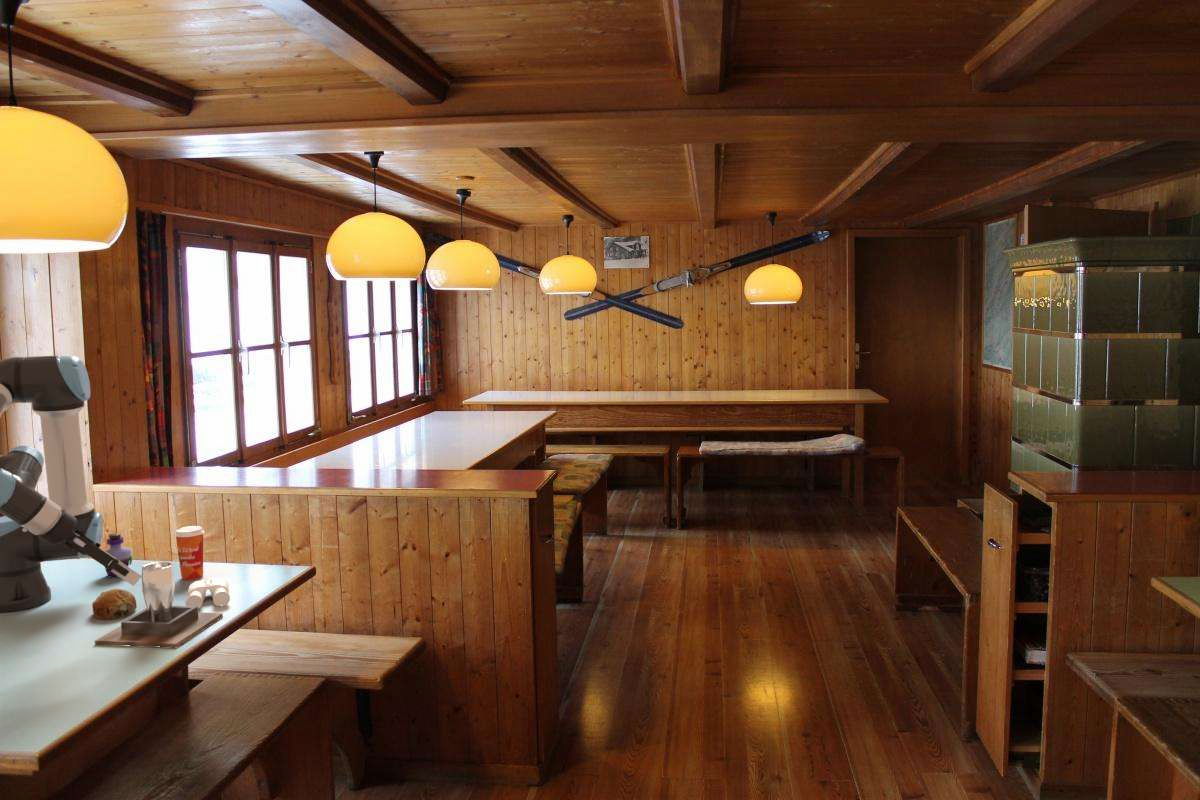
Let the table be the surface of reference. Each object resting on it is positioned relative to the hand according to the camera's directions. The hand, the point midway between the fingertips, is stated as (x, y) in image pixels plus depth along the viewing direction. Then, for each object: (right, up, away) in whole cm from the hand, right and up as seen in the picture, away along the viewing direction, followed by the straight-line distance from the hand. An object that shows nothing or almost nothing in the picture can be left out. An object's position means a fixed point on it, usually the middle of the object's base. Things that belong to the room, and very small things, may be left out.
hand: (128, 574), depth 215 cm
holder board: (+5, -15, +7) cm, 17 cm away
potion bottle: (-29, -10, +51) cm, 60 cm away
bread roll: (-13, -14, +19) cm, 27 cm away
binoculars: (+6, -12, +29) cm, 32 cm away
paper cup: (-6, -10, +48) cm, 50 cm away
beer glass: (+5, -14, +6) cm, 16 cm away
